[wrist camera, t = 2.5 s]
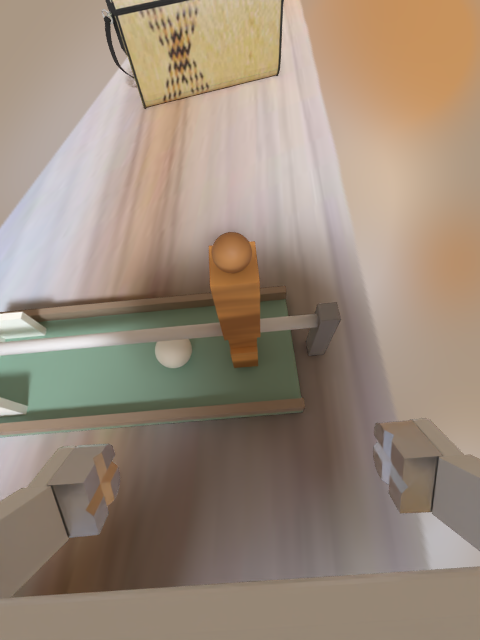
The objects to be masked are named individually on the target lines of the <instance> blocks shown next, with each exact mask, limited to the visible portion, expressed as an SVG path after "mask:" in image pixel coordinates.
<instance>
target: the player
mask: <svg viewBox="0 0 480 640" xmlns="http://www.w3.org/2000/svg"><path fill="white" fill-rule="evenodd" d="M209 269H210V289H211V293H212V296H213V300H214V304H215V307H216V311H217V315H218V319H219V322H220V326H221V330H222V333H223V337H224V340H228V341H229V345H230V352H231V358H232V362H233V366H234V368H241V367H252V366H258V350H257V337H260V280H259V272H258V264H257V255H256V247H255V241H254V242H249V241H248V240H247V239H246V238H245V237H244V236H243V235H241V234H239V233H235V232H228V233H225V234H222V235H221V236H219V237H218V238H217V239H216V241H215V242H214V244H213V246H209Z"/></svg>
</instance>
